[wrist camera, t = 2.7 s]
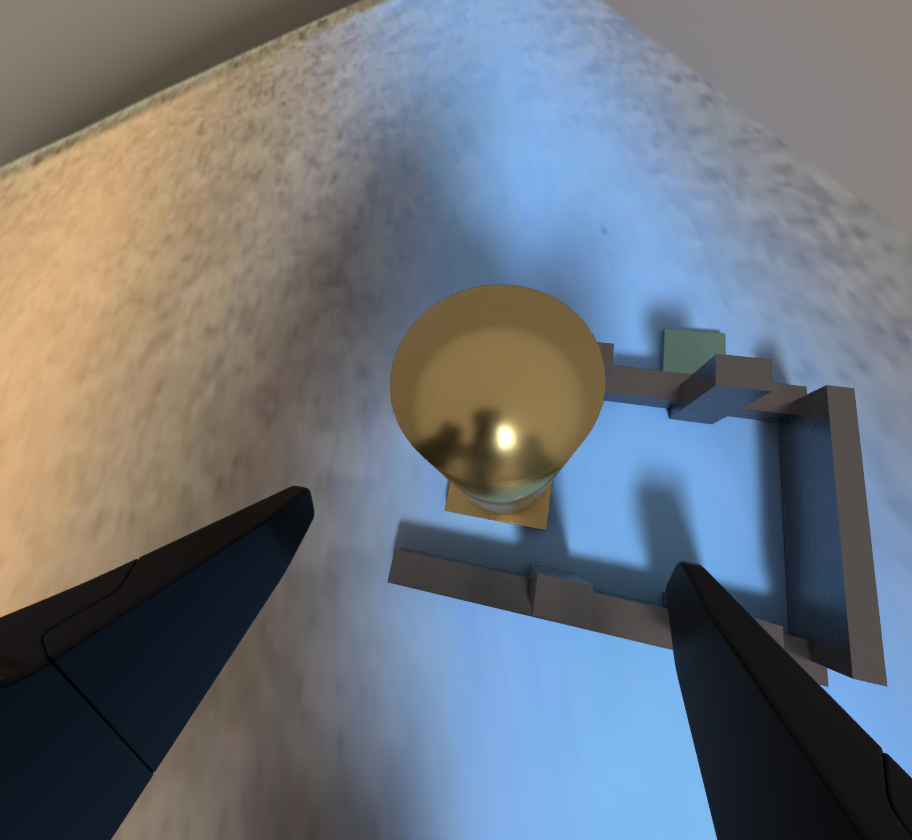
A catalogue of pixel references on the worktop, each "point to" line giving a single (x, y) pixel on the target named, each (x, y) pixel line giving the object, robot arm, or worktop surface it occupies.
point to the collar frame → (804, 516)
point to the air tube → (498, 397)
